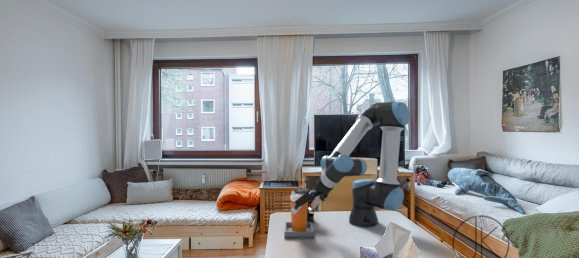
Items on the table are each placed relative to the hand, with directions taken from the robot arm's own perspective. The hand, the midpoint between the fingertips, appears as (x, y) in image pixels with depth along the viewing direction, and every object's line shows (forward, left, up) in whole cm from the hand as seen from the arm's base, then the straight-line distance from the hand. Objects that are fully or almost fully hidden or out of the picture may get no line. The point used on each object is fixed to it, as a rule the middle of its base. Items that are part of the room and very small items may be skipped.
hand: (303, 209), depth 143 cm
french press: (+13, -16, -13) cm, 24 cm away
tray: (+4, 0, -13) cm, 13 cm away
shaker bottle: (+3, -1, -12) cm, 12 cm away
